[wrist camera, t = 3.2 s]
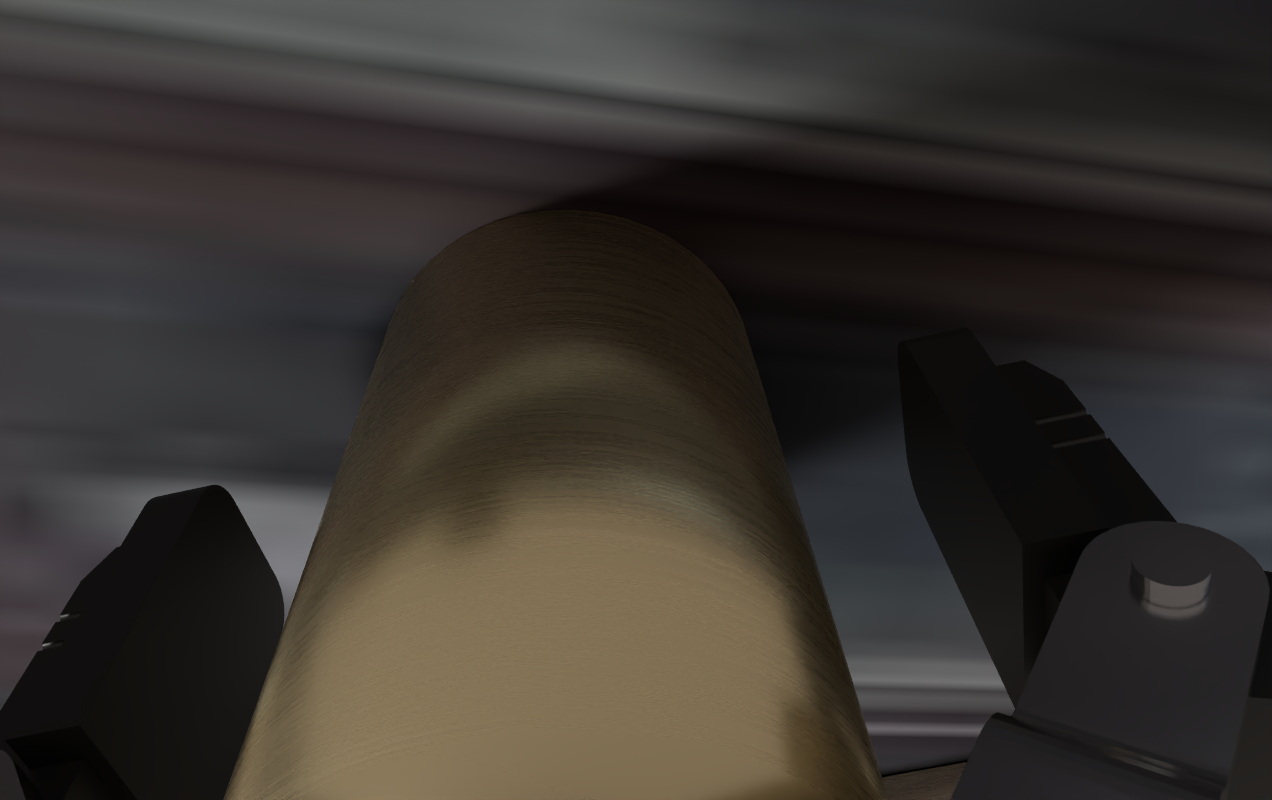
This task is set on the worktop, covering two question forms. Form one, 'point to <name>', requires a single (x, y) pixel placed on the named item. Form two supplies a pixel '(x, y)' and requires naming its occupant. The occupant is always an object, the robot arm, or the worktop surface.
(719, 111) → the worktop surface
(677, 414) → the brass cylinder plug
